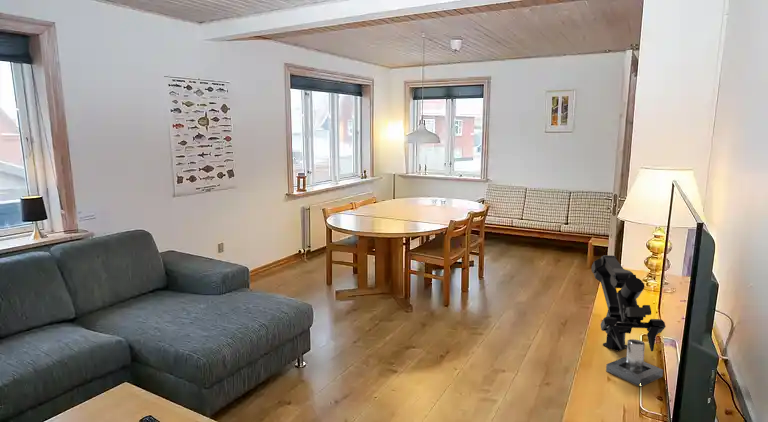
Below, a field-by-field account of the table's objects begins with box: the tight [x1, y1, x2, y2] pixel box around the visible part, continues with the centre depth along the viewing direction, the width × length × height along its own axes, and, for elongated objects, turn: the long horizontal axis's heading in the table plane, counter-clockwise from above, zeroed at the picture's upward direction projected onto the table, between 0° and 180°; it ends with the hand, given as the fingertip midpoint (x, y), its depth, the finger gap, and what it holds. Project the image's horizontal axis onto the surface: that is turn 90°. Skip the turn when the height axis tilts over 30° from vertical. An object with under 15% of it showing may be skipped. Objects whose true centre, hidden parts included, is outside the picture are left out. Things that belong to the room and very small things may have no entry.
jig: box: [605, 355, 664, 387], centre depth 160 cm, size 12×12×2 cm
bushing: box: [626, 338, 646, 374], centre depth 160 cm, size 5×5×11 cm
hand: (637, 350), depth 158 cm, fingers open, 9 cm apart
